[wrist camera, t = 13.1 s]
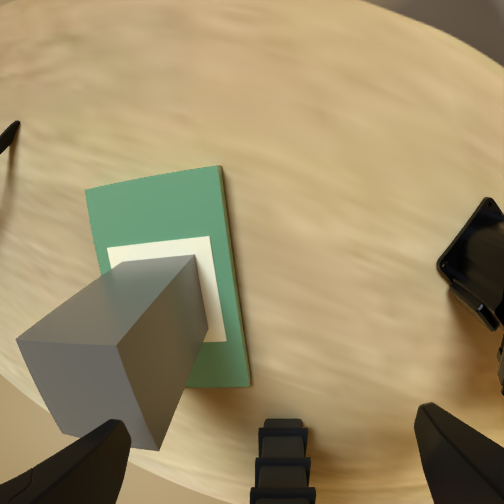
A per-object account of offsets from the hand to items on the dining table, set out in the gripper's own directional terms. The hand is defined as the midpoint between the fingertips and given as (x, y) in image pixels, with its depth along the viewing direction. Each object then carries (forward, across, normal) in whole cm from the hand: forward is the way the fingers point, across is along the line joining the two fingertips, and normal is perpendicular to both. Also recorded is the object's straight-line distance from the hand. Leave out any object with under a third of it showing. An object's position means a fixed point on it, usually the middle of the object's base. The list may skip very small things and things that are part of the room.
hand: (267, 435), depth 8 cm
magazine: (+13, +1, +16) cm, 21 cm away
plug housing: (+12, +7, 0) cm, 14 cm away
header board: (+13, +7, 0) cm, 15 cm away
